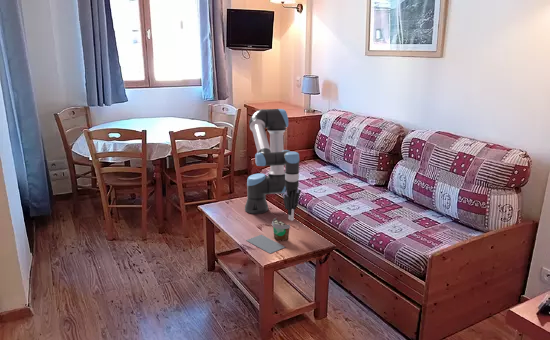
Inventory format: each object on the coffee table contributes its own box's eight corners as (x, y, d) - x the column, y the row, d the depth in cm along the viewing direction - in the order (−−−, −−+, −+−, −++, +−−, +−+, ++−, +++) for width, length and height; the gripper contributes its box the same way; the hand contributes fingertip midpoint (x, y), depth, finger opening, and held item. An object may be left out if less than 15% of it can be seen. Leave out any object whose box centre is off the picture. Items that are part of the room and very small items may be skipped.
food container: (267, 236, 245) (267, 220, 242) (275, 233, 248) (275, 217, 245) (281, 244, 236) (281, 227, 233) (290, 241, 239) (290, 224, 236)
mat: (261, 235, 247) (261, 234, 246) (285, 247, 232) (285, 246, 232) (246, 240, 239) (246, 240, 239) (270, 253, 225) (270, 253, 225)
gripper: (295, 176, 245) (294, 214, 252) (278, 180, 237) (278, 220, 244) (305, 179, 240) (303, 218, 247) (288, 184, 232) (287, 224, 239)
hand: (291, 219), depth 245 cm, fingers closed
